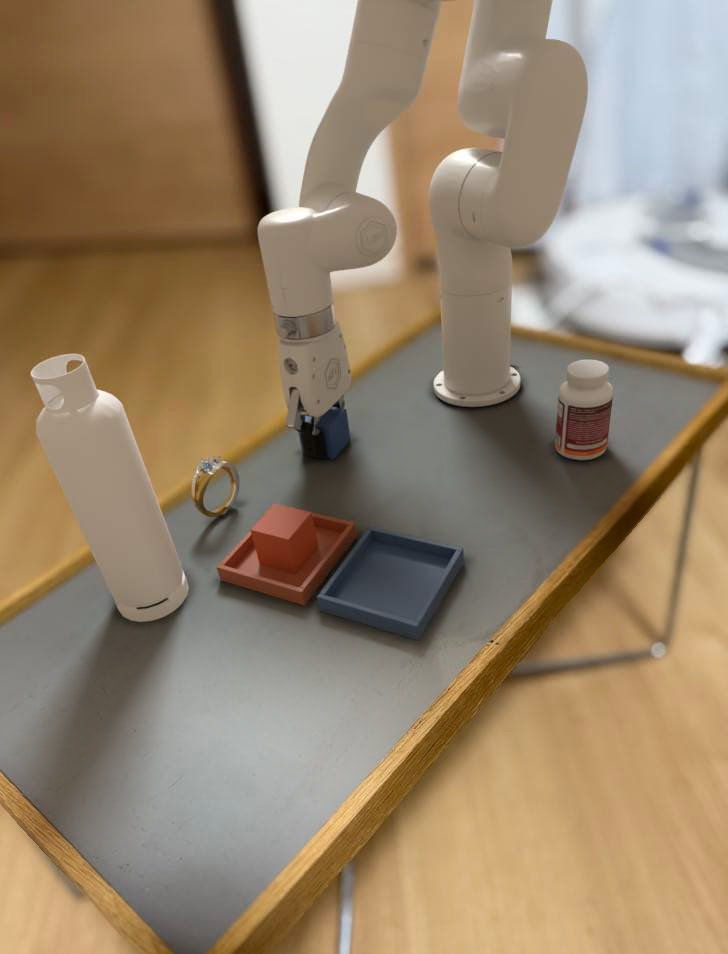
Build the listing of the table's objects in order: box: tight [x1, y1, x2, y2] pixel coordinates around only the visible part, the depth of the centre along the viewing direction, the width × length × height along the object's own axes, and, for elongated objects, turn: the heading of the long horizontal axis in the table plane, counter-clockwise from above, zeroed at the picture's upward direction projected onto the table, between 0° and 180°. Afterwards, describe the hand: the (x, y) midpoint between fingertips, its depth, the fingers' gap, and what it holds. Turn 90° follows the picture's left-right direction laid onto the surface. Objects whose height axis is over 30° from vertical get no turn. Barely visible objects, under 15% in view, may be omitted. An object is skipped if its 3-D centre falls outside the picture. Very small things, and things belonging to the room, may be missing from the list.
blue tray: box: [316, 525, 465, 641], centre depth 74 cm, size 12×11×2 cm
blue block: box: [298, 407, 352, 460], centre depth 96 cm, size 5×5×5 cm
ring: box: [191, 454, 241, 518], centre depth 86 cm, size 7×3×8 cm, turn 137°
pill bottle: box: [554, 359, 614, 461], centre depth 85 cm, size 6×6×11 cm
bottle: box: [30, 353, 190, 623], centre depth 70 cm, size 8×8×28 cm
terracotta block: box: [249, 503, 318, 574], centre depth 78 cm, size 5×5×5 cm
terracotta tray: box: [216, 512, 358, 607], centre depth 80 cm, size 12×11×2 cm
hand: (326, 444), depth 97 cm, fingers closed on blue block, 5 cm apart
